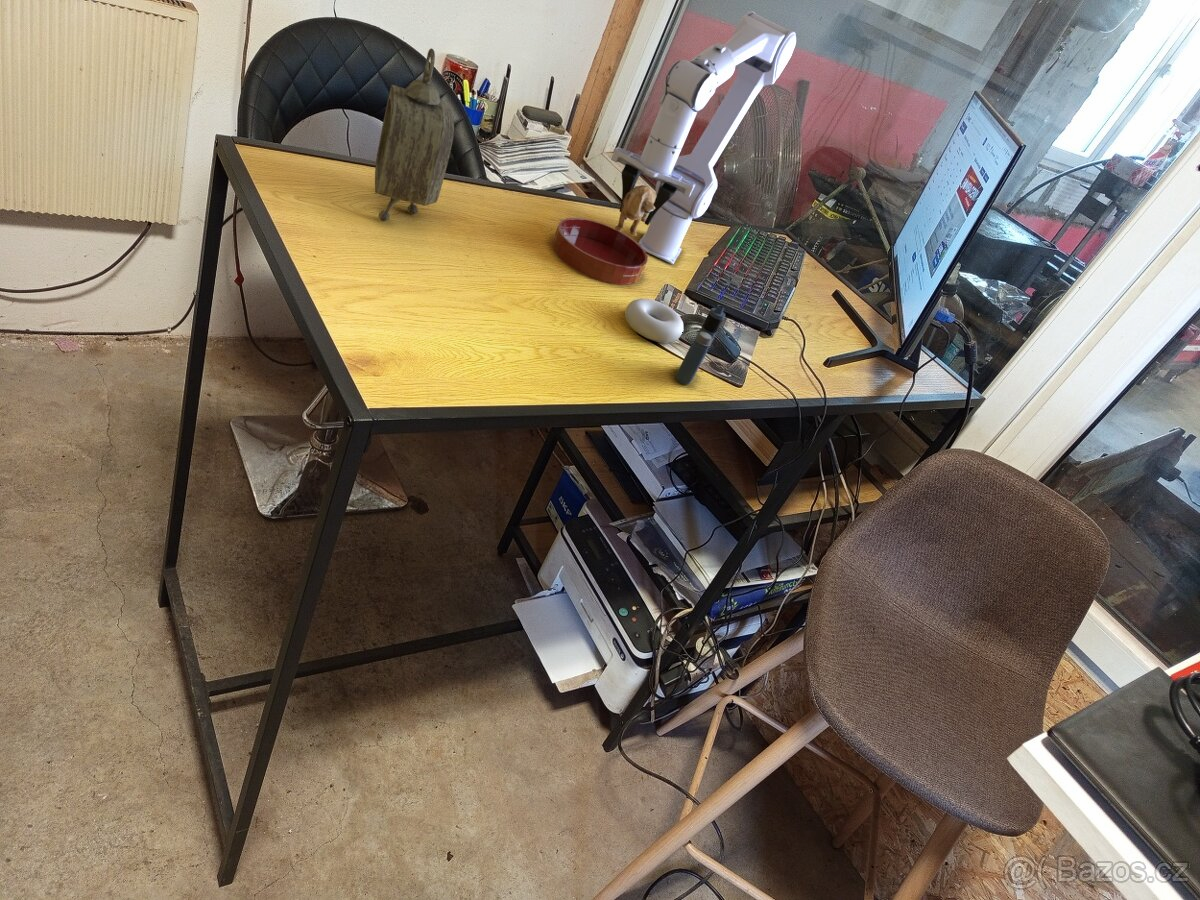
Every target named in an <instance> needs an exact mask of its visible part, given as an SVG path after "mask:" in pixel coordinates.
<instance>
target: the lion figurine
mask: <svg viewBox="0 0 1200 900" xmlns="http://www.w3.org/2000/svg"><path fill="white" fill-rule="evenodd" d="M653 199H654V190H653V189H652V188H651V187H650V186H649V185H643V184H642V185H635V187H634V188H633V189H632V190H631V191H630V192H628V193H627V194H626V195H625V198H624V200H623V204H622V211H621V212H619V219H618V224H617V225H615V226H614V229H616V230H617V231H621V232H622V231H623V229H624V224H625V221H628V220H630V221H633V222H632V224H631V226H630V228H629V235H631V236H633V237H636V236H637V235H638V233H637V229H638V226H639V225H640V223H641V222H643V223H645V221H646V218H647V216H648V215H649V213H650V212H651V211H653V210H654V209H655V206H654V205H653V204H654V201H653Z"/></svg>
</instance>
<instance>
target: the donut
mask: <svg viewBox="0 0 1200 900" xmlns="http://www.w3.org/2000/svg"><path fill="white" fill-rule="evenodd" d="M624 316H625V320H626V322H627V324H628V325H629V326H630V327H631V329H632V330H633V331H634V332H636V333H637V334H638V335H641V336H642V337H644V338H645V339H648V340H649V341H653V342H657V343H664V344H666V343H673V342H675V341H677V340H679V339H680V337H681V336H682V334H683V333H684V322H683V319H682V318H681V316H680V315H679V314H678V312H677V311H675V310H674V309H673V308H672V307H670V306H668V305H667V304H665V303H663V302H660V301H658V300H655V299H651V298H640V297H639V298H637V299H633V300H631V301H630V302H629V303H628V304H627V306H626V307H625V312H624ZM682 332H683V333H682Z"/></svg>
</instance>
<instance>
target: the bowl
mask: <svg viewBox="0 0 1200 900" xmlns="http://www.w3.org/2000/svg"><path fill="white" fill-rule="evenodd" d="M638 243H639V242H637V241H636V240H634V239H633V238H632V237H630V236H629V235H627V234H625V233H624V232H622V230H621V231H617V230H616V229H615V227H613V226H610V225H607V224H605V223H602V222H599V221H596V220H592V219H588V218H583V217H567V218H564V219H562V220H560V221H559V222H558V224H557V227H556V229H555V232H554V235H553V238H552V242H551V247H552V250H553V252H554V254H555V255H556V256H557V257H558V258H559V259H560V260H561V261H562V262H563V263H564V264H566V265H567V266H569V267H570V268H572V269H573V270H574V271H577V272H579V273H580V274H582V275H585V276H586V277H589V278H591V279H594V280H596V281H600V282H602V283H607V284H611V285H617V286H626V285H627V286H628V285H633V284H636V283H637V282H638V281H640V278H641V277H642V275H643V272H644V270H645V268H646V266H647V263H648V261H649V259H648V254H647V252H646V251H644V249H643V248H642V247H641V246H640V245H639V244H638Z"/></svg>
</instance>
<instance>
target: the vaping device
mask: <svg viewBox="0 0 1200 900" xmlns="http://www.w3.org/2000/svg"><path fill="white" fill-rule="evenodd" d="M724 310H725V307H724V306H723V305H721V304H717V306H716V307H711V308H710V310H709V312H708V314H707V316H706V318H705V320H704V322H703V324H702V325H701V328H700V329H699V331H698V332H697V334H696V336H695V337H694V340H693V342H692V343H691V344H690V346H689V348H688V350H687V352H686V354H685V356H684V358H683V360H682V362H681V364H680V366H679V368H678V370H677V371H676V375H675V379H676V381H677V382H678V383H680V384H683V385H685V386H686V385H690V384H691V382H692V381H693V380H694V378H695V377H696V374H697V372H698V371H699V369H700V367H701V366H702V365H701V364H702V363H703V361H704V359H705V357H706V355H707V354H708V350H709V349H710V346H711V345H712V343H713V341H714V339H715V337H716V335H717V333H718V331H719V329H720V327H721V325H722V323H723V322H724V320H725V318H726V313H725V312H724Z"/></svg>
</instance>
